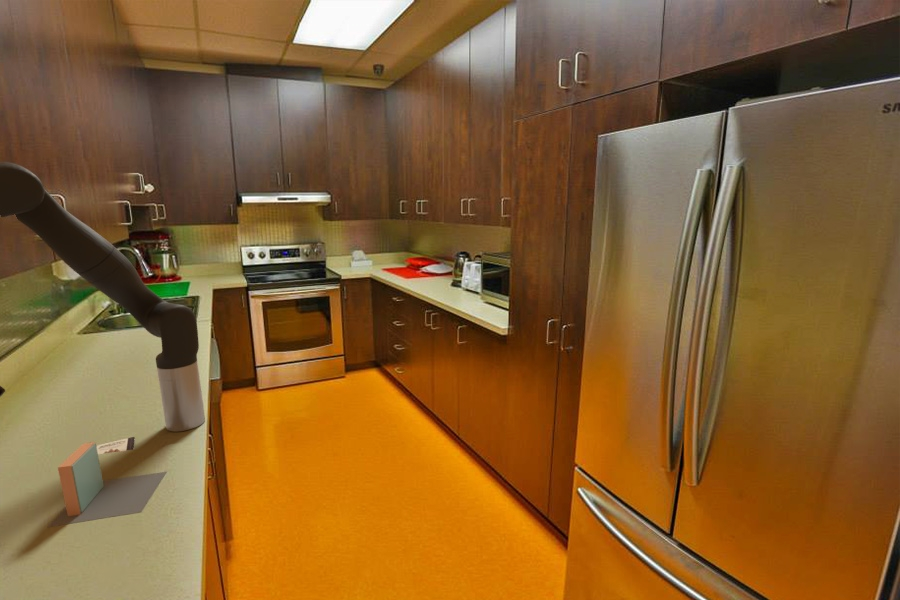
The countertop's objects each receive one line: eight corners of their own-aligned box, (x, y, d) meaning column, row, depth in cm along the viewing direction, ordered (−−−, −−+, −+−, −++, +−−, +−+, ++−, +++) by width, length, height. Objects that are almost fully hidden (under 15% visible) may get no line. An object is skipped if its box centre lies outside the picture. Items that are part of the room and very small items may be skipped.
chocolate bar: (79, 483, 96) (89, 447, 110) (80, 487, 96) (90, 450, 111) (130, 469, 100) (134, 436, 115) (131, 473, 100) (134, 440, 115)
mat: (87, 486, 95) (87, 482, 95) (167, 474, 99) (167, 471, 99) (48, 530, 82) (47, 527, 82) (141, 515, 85) (141, 512, 85)
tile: (92, 488, 93) (83, 443, 91) (104, 486, 94) (96, 442, 92) (67, 516, 84) (57, 467, 83) (81, 513, 85) (71, 465, 83)
